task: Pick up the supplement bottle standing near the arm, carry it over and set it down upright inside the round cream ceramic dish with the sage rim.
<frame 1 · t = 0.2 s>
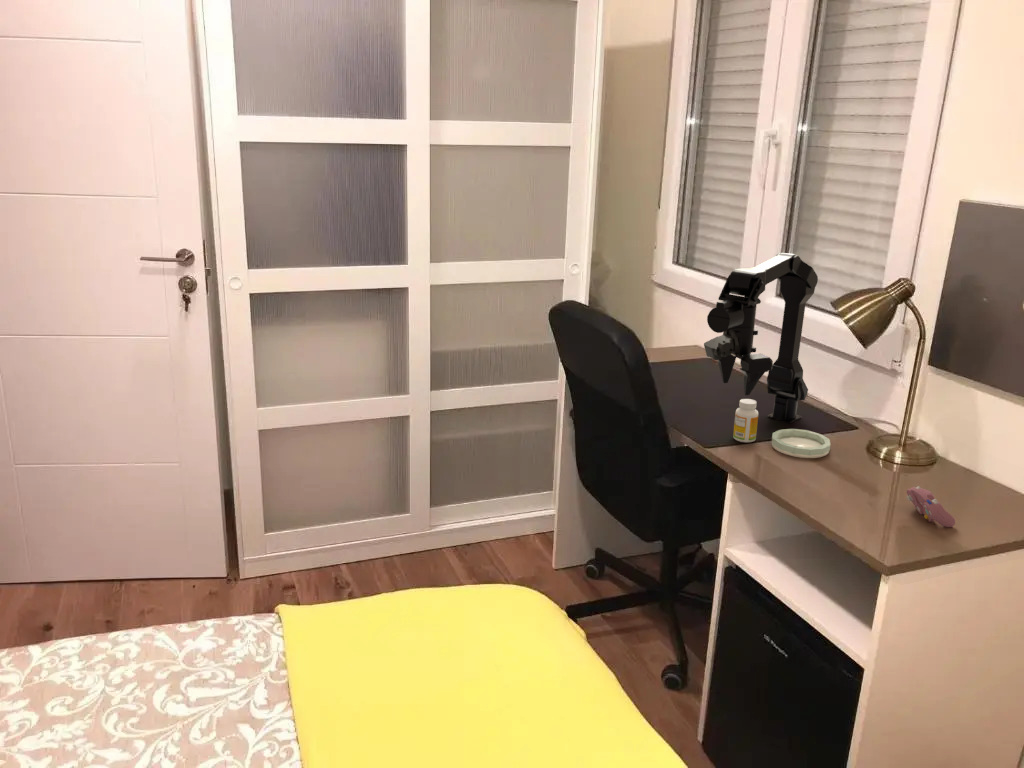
hand: (735, 389, 194), 14 cm above the table, fingers open, 9 cm apart
supplement bottle: (744, 439, 201), on the table
round dish: (799, 447, 196), on the table
video game controller: (927, 518, 163), on the table
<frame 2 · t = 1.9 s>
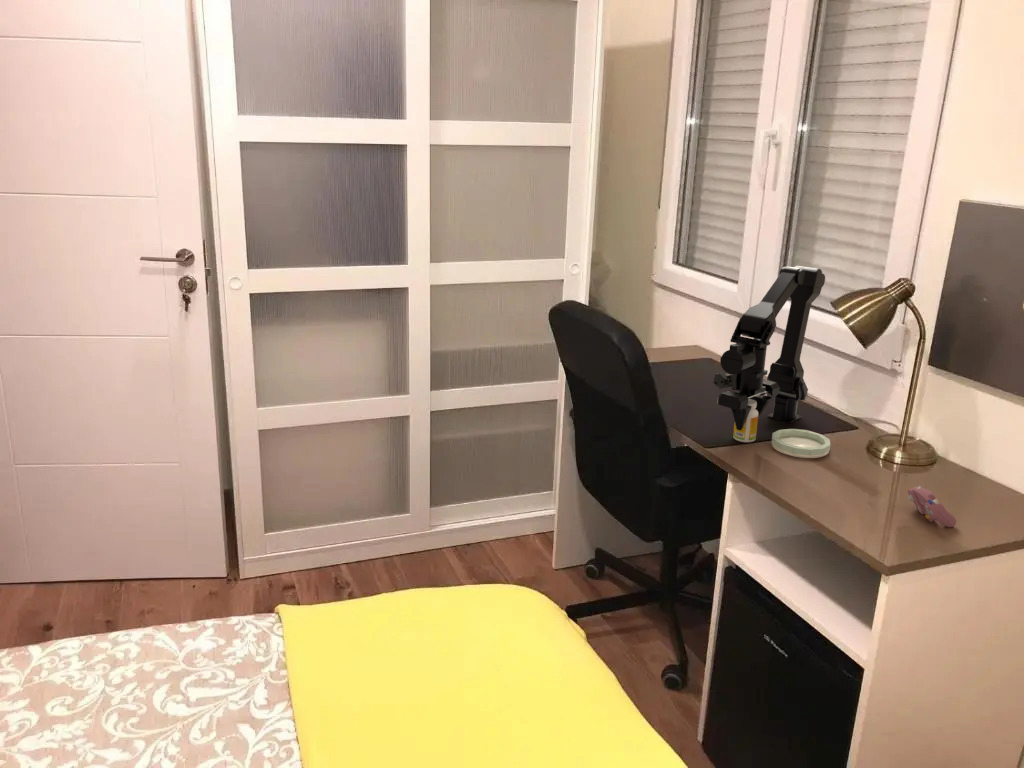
hand: (745, 427, 200), 3 cm above the table, fingers closed on supplement bottle, 5 cm apart
supplement bottle: (744, 439, 201), on the table, touching gripper
everything else where it was.
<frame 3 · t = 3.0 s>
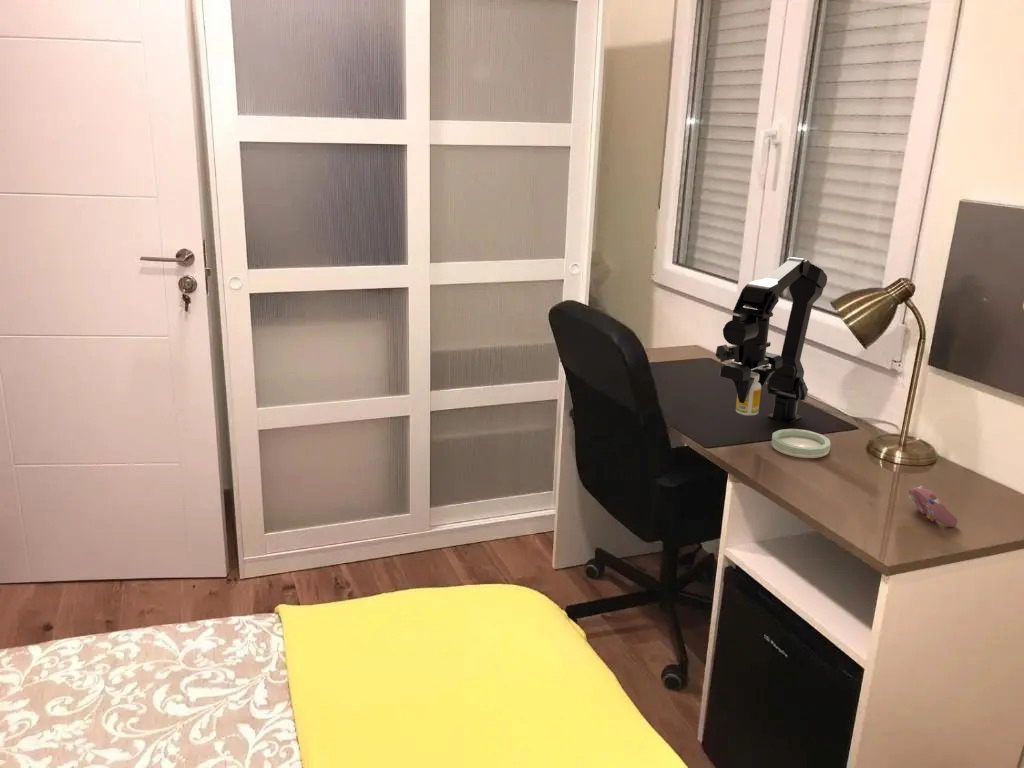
hand: (748, 400, 198), 10 cm above the table, fingers closed on supplement bottle, 5 cm apart
supplement bottle: (746, 412, 199), point 7 cm above the table, touching gripper
everything else where it was.
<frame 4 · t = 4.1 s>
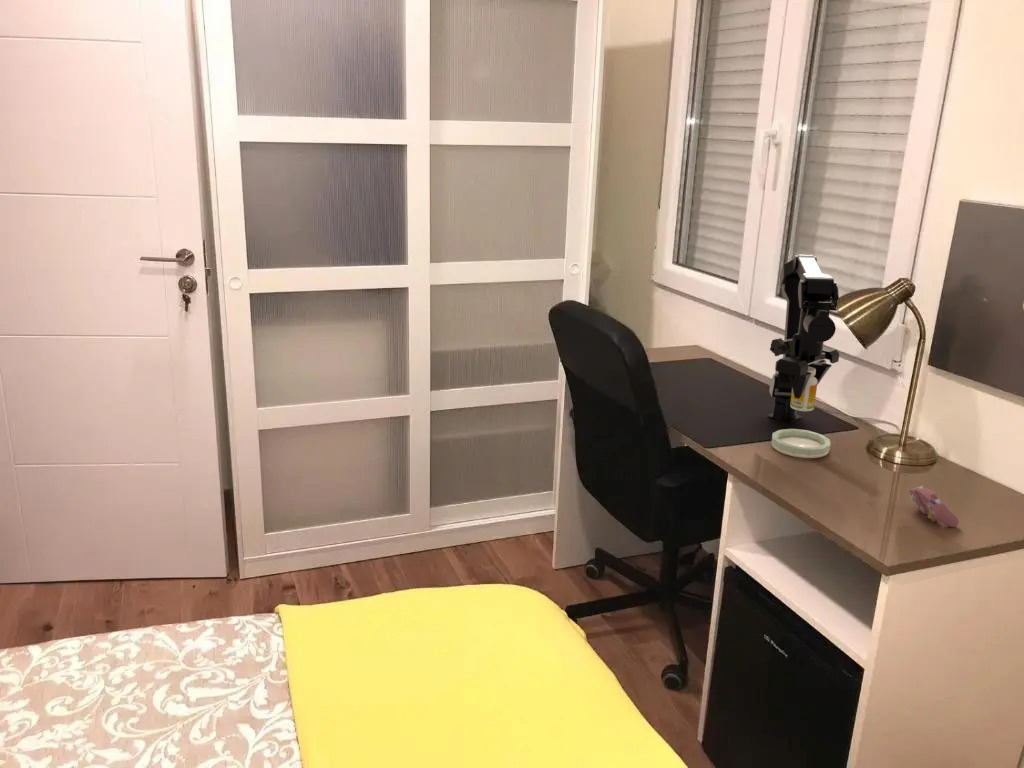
hand: (803, 395, 193), 13 cm above the table, fingers closed on supplement bottle, 5 cm apart
supplement bottle: (801, 408, 194), point 10 cm above the table, touching gripper
everything else where it was.
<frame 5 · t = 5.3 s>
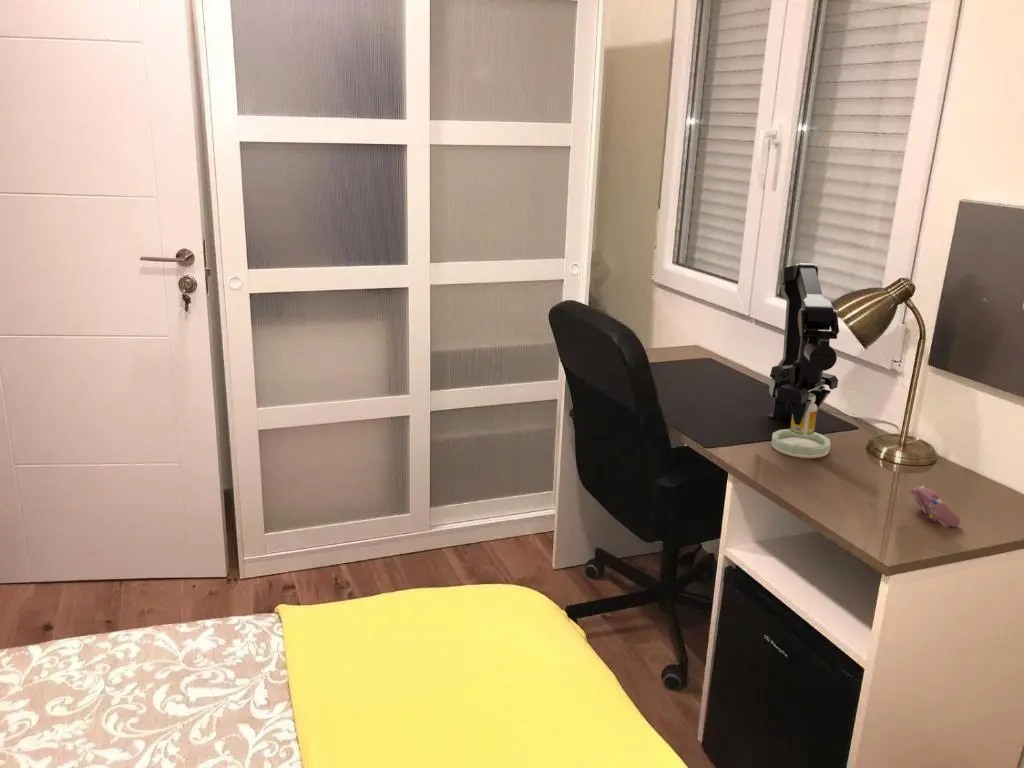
hand: (803, 421, 195), 7 cm above the table, fingers closed on supplement bottle, 5 cm apart
supplement bottle: (801, 434, 196), point 3 cm above the table, touching gripper
when the fingers open (5 cm above the table, at t = 6.1 s): supplement bottle drops 1 cm, resting on round dish.
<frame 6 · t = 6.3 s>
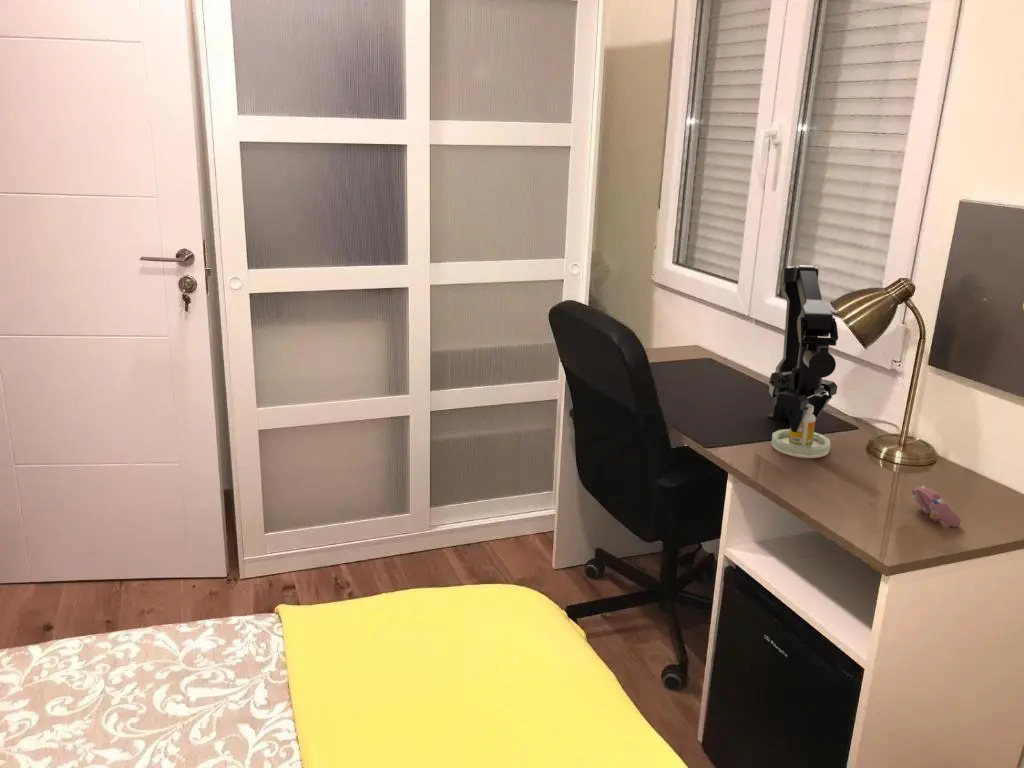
hand: (802, 427, 195), 5 cm above the table, fingers open, 8 cm apart
supplement bottle: (800, 444, 196), point 1 cm above the table, touching round dish
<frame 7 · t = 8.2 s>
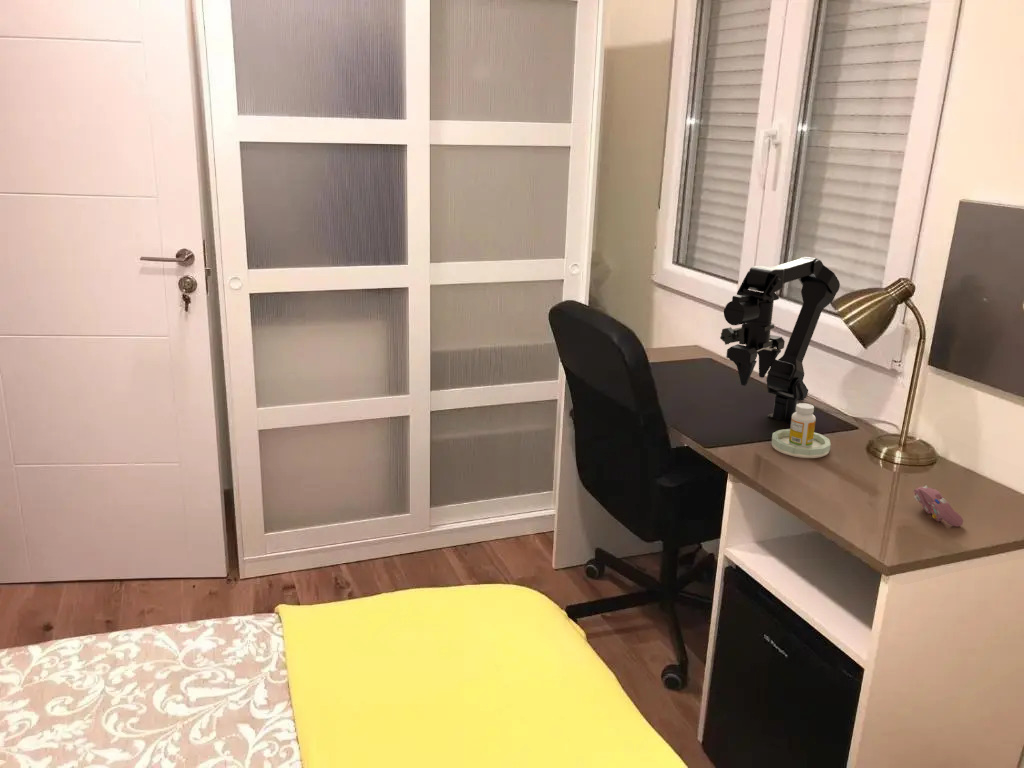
hand: (752, 381, 203), 13 cm above the table, fingers open, 9 cm apart
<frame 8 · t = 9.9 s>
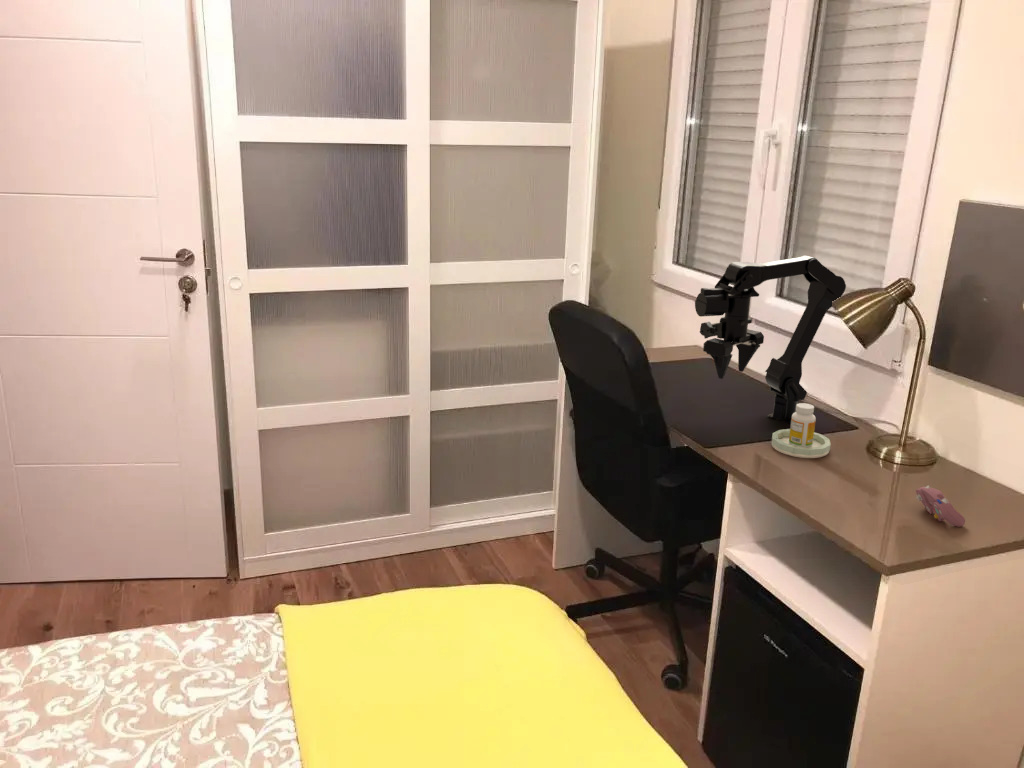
hand: (730, 374, 208), 13 cm above the table, fingers open, 9 cm apart
at the end: supplement bottle 0.1 cm from the round dish (horizontally); supplement bottle tilted 0°; the gripper is holding nothing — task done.
